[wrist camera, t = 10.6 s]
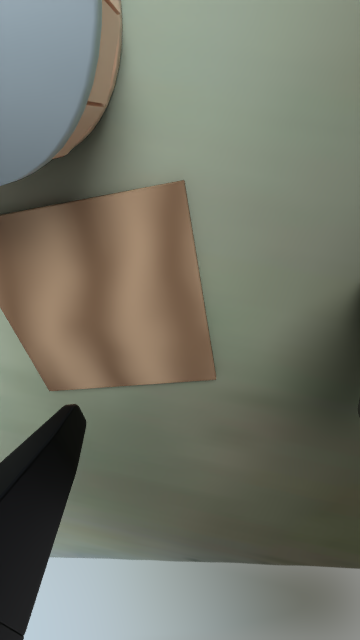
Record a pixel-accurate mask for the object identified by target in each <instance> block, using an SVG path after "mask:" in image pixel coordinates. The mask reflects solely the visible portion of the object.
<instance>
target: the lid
mask: <svg viewBox="0 0 360 640" xmlns="http://www.w3.org/2000/svg"><path fill="white" fill-rule="evenodd" d="M101 28H102V0H0V186H1V185H5V184H8V183H11V182H15V181H18V180H21V179H23V178H25V177H27V176H29V175H31V174H33V173H35V172H36V171H37V170H39V169H40V168H41V167H43V166H44V165H45V164H47V163H48V162H50V161H51V159H52V158H53V157H54V156H55V155H56V154H57V153H58V152H59V151H60V150H61V149H62V148H63V147H64V145H65V144H66V142H67V141H68V139H69V138H70V136H71V135H72V133H73V132H74V130H75V129H76V126H77V124H78V122H79V120H80V118H81V116H82V114H83V112H84V110H85V107H86V104H87V101H88V98H89V95H90V92H91V89H92V86H93V82H94V77H95V72H96V68H97V63H98V58H99V49H100V39H101Z"/></svg>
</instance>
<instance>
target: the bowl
mask: <svg viewBox="0 0 360 640" xmlns="http://www.w3.org/2000/svg"><path fill="white" fill-rule="evenodd" d="M121 47H122V11H121V0H102V28H101V39H100V49H99V58H98V63H97V68H96V72H95V77H94V82H93V86H92V89H91V92H90V95H89V98H88V101H87V104H86V107H85V110H84V112H83V114H82V116H81V118H80V120H79V122H78V124H77V126H76V129H75V130H74V132H73V133H72V135H71V136H70V138H69V139H68V141H67V142H66V144H65V145H64V147H63V148H62V149H61V150H60V151H59V152H58V153H57V154H56V155H55V156H54V157H53V158H52V159H55V158H59V157H63V156H64V155H67V154H68V153H69V152H70V150H72V149H73V148H74V147H76V146H77V145H78V144H80V143H81V142H82V141H83V140H84V139H85V138H86V137H87V136H88V135H89V134H90V133H91V132H92V130H93V129H94V128H95V126H96V125H97V123H98V122H99V120H100V119H101V117H102V115H103V113H104V111H105V109H106V107H107V105H108V103H109V101H110V98H111V95H112V92H113V89H114V87H115V82H116V78H117V74H118V70H119V63H120V55H121Z"/></svg>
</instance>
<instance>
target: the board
mask: <svg viewBox="0 0 360 640" xmlns="http://www.w3.org/2000/svg"><path fill="white" fill-rule="evenodd" d="M0 308H1V309H2V311H3V313H4V315H5V316H6V318H7V320H8V321H9V323H10V325H11V326H12V328H13V330H14V332H15V333H16V335H17V337H18V338H19V340H20V342H21V343H22V345H23V347H24V349H25V350H26V352H27V354H28V355H29V357H30V359H31V360H32V362H33V364H34V366H35V367H36V369H37V371H38V372H39V374H40V376H41V377H42V379H43V381H44V383H45V384H46V386H47V388H48V389H49V391H58V390H73V389H87V388H102V387H116V386H131V385H145V384H159V383H174V382H188V381H203V380H216V372H215V366H214V359H213V353H212V347H211V341H210V335H209V329H208V323H207V316H206V310H205V304H204V298H203V292H202V286H201V280H200V273H199V267H198V261H197V255H196V249H195V243H194V237H193V230H192V224H191V218H190V212H189V206H188V200H187V194H186V187H185V181H184V180H182V181H177V182H172V183H166V184H161V185H156V186H151V187H145V188H140V189H135V190H129V191H124V192H119V193H114V194H108V195H103V196H98V197H92V198H87V199H82V200H77V201H71V202H66V203H61V204H55V205H50V206H45V207H40V208H34V209H29V210H24V211H18V212H13V213H8V214H3V215H0Z"/></svg>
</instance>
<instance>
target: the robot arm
mask: <svg viewBox="0 0 360 640" xmlns="http://www.w3.org/2000/svg"><path fill="white" fill-rule="evenodd" d="M358 413H359V417H360V399H359V404H358ZM85 429H86V419H85V417H84V415H83V413H82V412H81V410H80V408H79V406H78V405H76V404H70V405H65V406H63V407H62V408H61V409H60V410H59V411H58V412H56V413H55V414H54V415H53V416H52V417H51V418H50V419H49V420H48V421H46V422H45V423H44V424H43V425H42V426H41V427H40V428H39V429H38V430H36V431H35V432H34V433H33V434H32V435H31V436H30V437H29V438H27V439H26V440H25V441H24V442H23V443H22V444H21V445H20V446H19V447H17V448H16V449H15V450H14V451H13V452H12V453H11V454H10V455H9V456H7V457H6V458H5V459H4V460H3V461H2V462H1V463H0V640H23V639H24V636H23V635H24V634H25V632H26V629H27V625H28V622H29V619H30V616H31V613H32V610H33V606H34V603H35V600H36V597H37V593H38V591H39V587H40V584H41V581H42V578H43V575H44V572H45V569H46V565H47V562H48V559H49V556H50V553H51V550H52V547H53V543H54V540H55V537H56V534H57V531H58V528H59V525H60V521H61V518H62V515H63V512H64V509H65V506H66V503H67V499H68V496H69V493H70V490H71V487H72V484H73V481H74V477H75V474H76V471H77V467H78V462H79V458H80V453H81V448H82V443H83V439H84V434H85Z"/></svg>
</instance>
